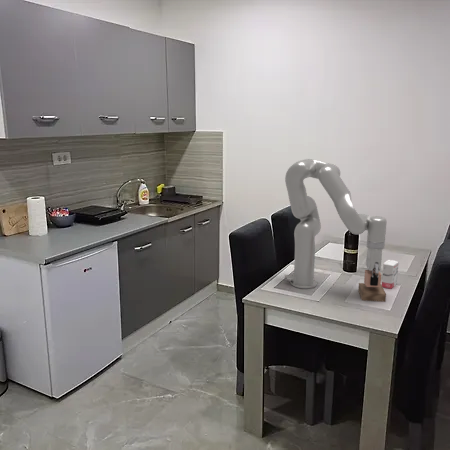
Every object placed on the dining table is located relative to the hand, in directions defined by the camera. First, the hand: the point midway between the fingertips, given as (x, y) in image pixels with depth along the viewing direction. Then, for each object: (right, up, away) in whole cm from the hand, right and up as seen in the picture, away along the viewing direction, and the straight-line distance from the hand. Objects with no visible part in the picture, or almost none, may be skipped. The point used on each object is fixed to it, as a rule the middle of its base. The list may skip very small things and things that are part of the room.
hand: (372, 282), depth 200 cm
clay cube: (0, -1, 0) cm, 1 cm away
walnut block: (0, -7, +2) cm, 7 cm away
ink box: (+13, -4, +14) cm, 19 cm away
